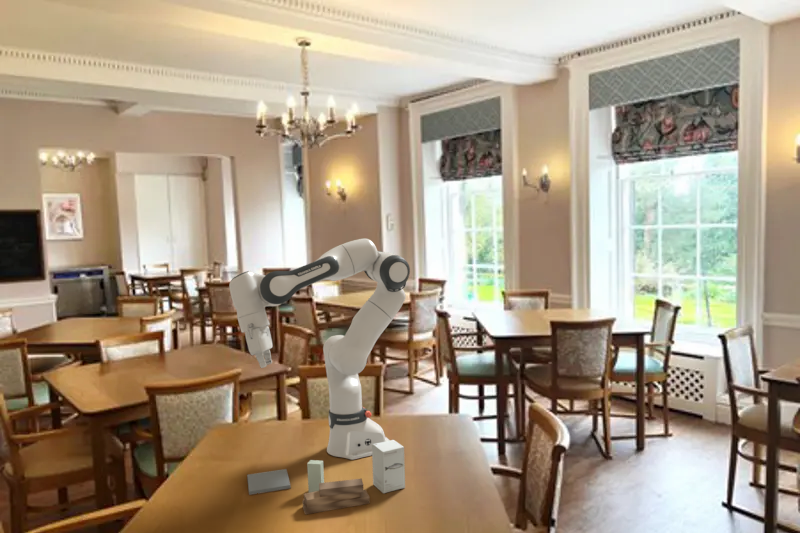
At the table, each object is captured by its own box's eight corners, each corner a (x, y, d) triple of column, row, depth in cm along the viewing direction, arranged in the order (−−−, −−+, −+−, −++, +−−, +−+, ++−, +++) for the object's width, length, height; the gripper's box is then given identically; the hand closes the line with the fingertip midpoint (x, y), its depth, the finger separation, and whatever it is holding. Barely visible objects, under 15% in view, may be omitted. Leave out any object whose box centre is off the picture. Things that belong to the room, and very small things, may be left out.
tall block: (311, 489, 173) (310, 460, 172) (324, 490, 172) (323, 460, 171) (308, 493, 170) (307, 463, 170) (321, 494, 170) (320, 464, 169)
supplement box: (383, 494, 168) (382, 451, 167) (372, 484, 175) (371, 443, 174) (406, 488, 172) (404, 446, 171) (394, 478, 178) (393, 438, 177)
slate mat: (286, 471, 186) (286, 468, 185) (290, 488, 174) (290, 485, 174) (247, 477, 182) (247, 474, 182) (249, 494, 171) (248, 491, 171)
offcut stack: (365, 495, 168) (364, 475, 168) (370, 504, 163) (369, 483, 162) (302, 506, 163) (301, 485, 162) (305, 515, 157) (304, 494, 157)
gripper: (257, 321, 173) (270, 366, 172) (269, 319, 193) (281, 359, 193) (236, 327, 172) (249, 372, 172) (251, 325, 193) (262, 365, 192)
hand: (266, 365), depth 182 cm, fingers open, 8 cm apart
